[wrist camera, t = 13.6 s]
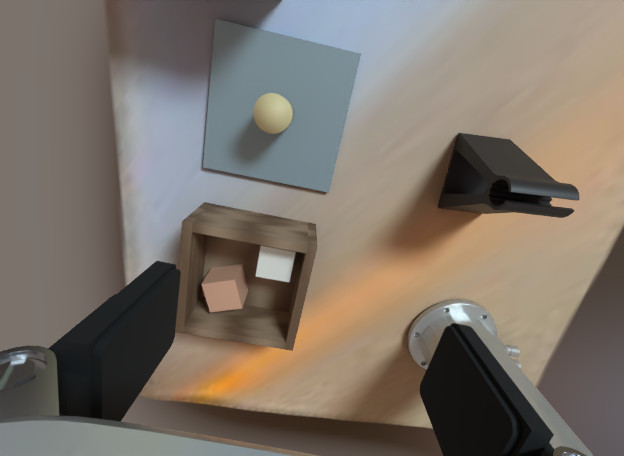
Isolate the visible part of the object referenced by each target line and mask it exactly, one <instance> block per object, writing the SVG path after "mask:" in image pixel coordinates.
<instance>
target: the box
mask: <svg viewBox="0 0 624 456" xmlns="http://www.w3.org/2000/svg"><path fill="white" fill-rule="evenodd" d="M261 245H264V246H269V247H274V248H280V249H285V250H290V251H296V253H295V258H294V263H293V267H292V272H291V277H290V282H284V281H279V280H273V279H267V278H262V277H256V270H257V264H258V258H259V252H260V247H261ZM316 250H317V235H316V224H312V223H307V222H302V221H297V220H291V219H286V218H281V217H276V216H271V215H266V214H261V213H256V212H251V211H246V210H240V209H235V208H230V207H225V206H220V205H215V204H210V203H205V202H204V203H203V204H202V205H201V206H200V207H199V208H197V209H196V210H195V211H194V212H193V213H192V214H190V215H189V216H188V217H187V218H186V219H184V220H183V221H182V236H181V251H180V265H179V270H180V272H181V276H180V287H179V297H178V307H177V318H176V328H175V332H179V333H186V334H192V335H198V336H204V337H211V338H217V339H223V340H230V341H236V342H242V343H248V344H255V345H261V346H267V347H273V348H280V349H286V350H292V351H293V347H294V343H295V338H296V334H297V330H298V326H299V322H300V317H301V313H302V309H303V305H304V300H305V296H306V292H307V288H308V284H309V279H310V275H311V271H312V267H313V263H314V258H315V254H316ZM238 264H242V267H243V271H244V275H245V279H246V283H247V287H248V293H247V296H246V299H245V302H244V305H243V308H241V309H234V310H226V311H218V312H210V311H209V307H208V304H207V301H206V298H205V294H204V291H203V288H202V285H201V284H202V282H203V281H204V279H205V278H206V276H207V274H208V273H209V271H210V270H211V268H216V267H223V266H231V265H238Z"/></svg>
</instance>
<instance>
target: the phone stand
mask: <svg viewBox="0 0 624 456" xmlns="http://www.w3.org/2000/svg"><path fill="white" fill-rule="evenodd" d="M551 197H553V198H561V199H569V200H579V192H578V190H577V189H576V187H575V186H573V185H571V184H565V183H559V182H557V181H555V180H554V179H553V178H552V177H551V176H549V175H548V174H547V173H546V172H545V171H544V170H543V169H542V168H541V167H540V166H538V165H537V164H536V163H535V162H534V161H533V160H532V159H531V158H530V157H529V156H527V155H526V154H525V153H524V152H523V151H522V150H521V149H520V148H519V147H518V146H516V145H515V144H514V143H513V142H512V141H511V140H509V139H501V138H494V137H486V136H478V135H471V134H463V133H459V134H458V135H457V139H456V142H455V146H454V150H453V153H452V157H451V160H450V164H449V168H448V173H447V175H446V178H445V182H444V186H443V189H442V193H441V196H440V200H439V204H438V208H441V209H449V210H458V211H466V212H475V213H483V214H490V213H509V212H517V213H526V214H534V215H542V216H551V217H559V218H563V217H567V216H569V215H570V214H572V213H573V212H574V210H573V209H571V208H562V207H554V206H551V204H550V203H549V202H550V201H551V200H552V199H551Z"/></svg>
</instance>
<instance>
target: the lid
mask: <svg viewBox="0 0 624 456" xmlns="http://www.w3.org/2000/svg"><path fill="white" fill-rule="evenodd" d="M360 55H361V54H359V53H355V52H351V51H347V50H343V49H339V48H335V47H330V46H326V45H322V44H318V43H314V42H310V41H306V40H302V39H297V38H293V37H289V36H285V35H281V34H277V33H273V32H269V31H264V30H260V29H256V28H252V27H248V26H244V25H240V24H236V23H231V22H227V21H223V20H219V19H215V26H214V38H213V50H212V62H211V74H210V86H209V98H208V111H207V123H206V135H205V147H204V159H203V167H204V168H209V169H214V170H219V171H224V172H229V173H234V174H239V175H244V176H249V177H254V178H259V179H264V180H269V181H274V182H279V183H284V184H289V185H294V186H299V187H304V188H309V189H313V190H318V191H323V192H328V193H329V189H330V185H331V180H332V176H333V172H334V167H335V163H336V159H337V154H338V150H339V146H340V141H341V137H342V133H343V128H344V124H345V120H346V116H347V111H348V107H349V103H350V98H351V94H352V90H353V85H354V81H355V77H356V72H357V68H358V64H359V59H360Z"/></svg>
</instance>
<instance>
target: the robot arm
mask: <svg viewBox="0 0 624 456" xmlns="http://www.w3.org/2000/svg"><path fill="white" fill-rule="evenodd" d="M180 276H181V272H180V270H177V269H176V265H175V264H170V263H165V262H160V261H157V262H155V263H154V264H153V265H151V266H150V267H149V268H148V269H147V270H145V271H144V272H143V273H142V274H141V275H139V276H138V277H137V278H136V279H135V280H133V281H132V282H131V283H130V284H129V285H127V286H126V287H125V288H124V289H123V290H121V291H120V292H119V293H118V294H115V295H114V296H112V297H110V298H109V299H108V300H107V301H106V302H104V303H103V304H102V305H101V306H100V307H98V308H97V309H96V310H95V311H93V312H92V313H91V314H90V315H89V316H87V317H86V318H85V319H84V320H82V321H81V322H80V323H79V324H78V325H76V326H75V327H74V328H73V329H72V330H70V331H69V332H68V333H67V334H65V335H64V336H63V337H62V338H61V339H59V340H58V341H57V342H56V343H55V344H53V345H52V346H51V347H50V348H45V347H42V346H21V347H14V348H11V349H7V350H4V351H1V352H0V456H318V455H313V454H308V453H302V452H297V451H291V450H285V449H280V448H274V447H269V446H263V445H257V444H252V443H246V442H240V441H234V440H229V439H223V438H217V437H211V436H206V435H200V434H194V433H189V432H183V431H177V430H170V429H164V428H158V427H151V426H145V425H139V424H132V423H126V422H120V421H121V420H122V418H123V417H124V416H125V414H126V413H127V411H128V409H129V408H130V407H131V405H132V404H133V402H134V401H135V399H136V397H137V396H138V395H139V393H140V392H141V390H142V389H143V387H144V386H145V384H146V383H147V381H148V380H149V378H150V377H151V375H152V374H153V372H154V371H155V369H156V368H157V366H158V365H159V363H160V362H161V360H162V359H163V357H164V356H165V354H166V353H167V351H168V350H169V348H170V347H171V345H172V343H173V340H174V337H175V328H176V318H177V307H178V297H179V287H180ZM407 343H408V348H409V351H410V354H411V356H412V358H413V359H414V361H415V362H416V363H417V364H418V365H419V366H420V367H422V368H424V369H425V370H427V371H426V373H425V375H424V377H423V380H422V382H421V385H420V395H421V398H422V400H423V403H424V406H425V408H426V411H427V413H428V416H429V419H430V421H431V424H432V427H433V429H434V432H435V434H436V437H437V440H438V442H439V445H440V448H441V450H442V453H443V456H593V455H592V453H591V452H590V451H589V450H588V449H587V448H586V447H585V445H584V444H583V443H582V442H581V441H580V440H579V438H578V437H577V436H576V435H575V434H574V433H573V431H572V430H571V429H570V428H569V427H568V425H567V424H566V423H565V422H564V421H563V420H562V418H561V417H560V416H559V415H558V413H557V412H556V411H555V410H554V409H553V408H552V406H551V405H550V404H549V403H548V401H547V400H546V399H545V398H544V397H543V395H542V394H541V393H540V392H539V391H538V389H537V388H536V387H535V386H534V385H533V383H532V382H531V381H530V380H529V379H528V377H527V376H526V375H525V374H524V373H523V371H522V370H521V364H520V362H519V361H518V360H516V359H512V358H511V357H510V356H515V357H518V356H519V354H520V350H519V348H518V347H516V346H511V345H504V344H503V343H502V341H501V340H500V339H499V338H498V337H497V328H496V324H495V322H494V319H493V318H492V317H491V315H490V314H489V313H488V312H487V311H486V310H485V309H484V308H483V307H481V306H479V305H478V304H475V303H473V302H470V301H464V300H451V301H445V302H442V303H439V304H436V305H434V306H432V307H430V308H428V309H427V310H425V311H424V312H423V313H421V314H420V315H419V316H418V317H417V318H416V320H415V321H414V322H413V324H412V325H411V328H410V330H409V333H408V338H407Z"/></svg>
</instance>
